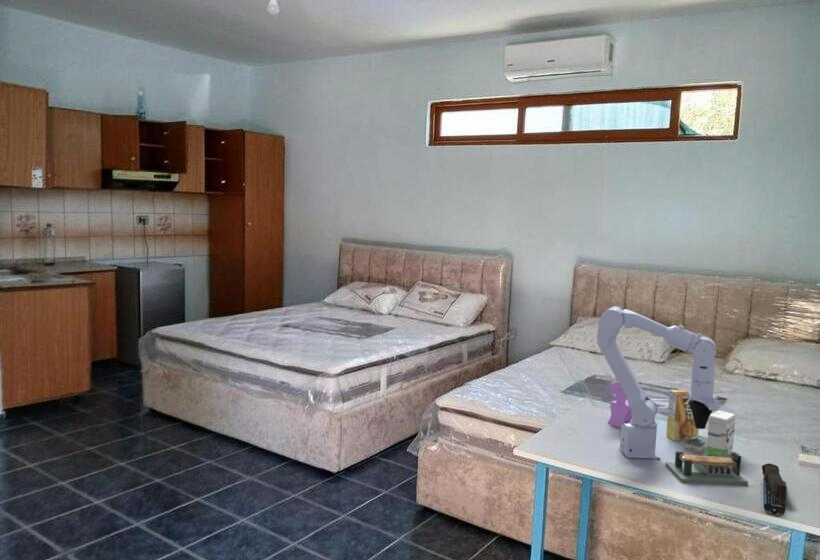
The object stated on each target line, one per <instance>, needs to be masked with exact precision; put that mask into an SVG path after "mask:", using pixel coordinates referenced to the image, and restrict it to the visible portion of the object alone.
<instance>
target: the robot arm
mask: <svg viewBox="0 0 820 560" xmlns="http://www.w3.org/2000/svg"><path fill="white" fill-rule="evenodd" d="M623 326H624V327H623ZM597 327H598V328H597V337H596V343H597V345H598V347H599V349H600V351H601V353H602V354H603V356H604V358H605V360H606V362H607V364H608V366H609V368H610V370H611V371H612V373H613V375H614V377H615V378H616V381H618V382H619V384H620V386H621V388H622V390H623V391H624V393H625V395H626V397H627V398H626V400H627V401H628V405H629V407H630V409H631V416H632V419H631V422H627V423H625V422H624V424H622V427H621V428H620V439H619V446H618V448H619V449H620V451H621V452H622V453H623V454H624V455H625V456H626V458H629V459H631V458H632V459H654V460H655V459H661V456H660V455H659V454H658V453H657V452H656V445H657V444H656V443H657V433H658V432H657V431H658V430H657V429H658V424H657V422H656V415H657V413H658V406H657V404H656V402H655V401H654V400H653V399H651V398H650V397H649V396H648V394H647V392H645V390H644V389H643V388H642V387H641V384H640V383H639V382H638V379H637V377H636V375H635V374H634V372H633V371H632V368H631V367H630V365H629V364H628V361H627V360H626V358H625V356H624V355H623V353H622V350H621V349H620V347H619V344H618V343H617V342H616V341H617V338H618V335H619V332H620V330H621V328H622V327H623V328H624V329H629V328H638V329H640V330H644V331H646V332H649V333H650V334H654V335H656V336H659V337H662V338H663V340H664V341H665V344H667V345H669V346H672V347H673V348H676V349H679V350H681V351H684V352H685V353H688V354H689V353H691V354H692V355H693V359H692V360H693V361H692V363H691V376H690V377H691V381H690V388H686V389H687V396H690V398H691V399H693V400H694V401H689V402H688V404H689V406H690V408H691V410H692V413H693V418H694V423H695V427H696V428H697V429H699V430H704V429H706V427H707V423H708V422H709V416H710V415H711V414H713V411H718V407H719V406H718V404H719V403H718V402H717V400H718V396H716V395H714V387H715V370H716V366H715V363H716V359H715V357H716V355H717V349H716V343H715V341H714V340H713V339H711V338H710V337H709V336H706V335H702V333H699V332H698V333H695V332H692V331H690V330H688V329H685V326H683V325H681V324H679V325H678V326H677V325H671V326H667V325H665V324H662V323H660V322H657V321H656V320H653V319H651V318H649V317H647V316H644V315H642V314H640V313H637V312H635V311H632V310H630V309H626V308H625V309H624V308H622V307H621V306H611V307H609V308H608V309H607V310H605V311H604V312H603V313H602V314H601V315H600V318H599V320H598V321H597Z"/></svg>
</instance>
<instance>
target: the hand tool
mask: <svg viewBox="0 0 820 560" xmlns="http://www.w3.org/2000/svg"><path fill="white" fill-rule="evenodd" d="M761 471H762V475H763V476H764V478H765V477H766V478H765V479H766V480H767V483H769V488H770V490H771V493H772V492H773V494H774V496H775V497H776V498H777V499H778V500H779V501H780V502H781V503H784V504H785V500H786V499H787V491H788V486H787V483H786V481H784V480H783V478H782V476H781V474H780V468H779V466H778V465H776V464H773V463H771V462H769V463H765V464H762V466H761ZM773 494H772V495H773Z"/></svg>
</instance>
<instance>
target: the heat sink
mask: <svg viewBox="0 0 820 560" xmlns="http://www.w3.org/2000/svg"><path fill="white" fill-rule="evenodd" d="M679 454H682V455H684V452H683V451H682V450H676V451H675V461H674V463H675V466H676V467H682V463H683V462H682V461H681V460H680V459H679V458H678V455H679ZM730 455H731V456H730V457H731V459H732V460H733V461H734V462H736V467H731V466H714V465H696V464H694V467H695V468H697V469H698V470H699V471H700V472H701V473H702V474H703V475H704V476H705V477H724V478H733V474H732V473H733V472H734V473H735V474H736V475H741V473H740V472H741V464H742V462H741V461H742V456H741V455H740V454H739V453H737V452H736V451H732V452H731V453H730ZM730 467H731V468H730ZM691 471H692V460H691V459H684V473H683V474H684V475H685V476H691Z"/></svg>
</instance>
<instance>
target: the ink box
mask: <svg viewBox="0 0 820 560" xmlns="http://www.w3.org/2000/svg"><path fill="white" fill-rule="evenodd" d="M735 426H736V414H735V413H731V412H727V411H723V410H718V409H717V410H715V412H712V413H711V414H710V416H709V418H708V427H707V428H708V430H707V431H708V432H707V445H706V455H707V456H714V457H728V456H729V455H731V454H732V452H734V451H733V448H734V437H735Z"/></svg>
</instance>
